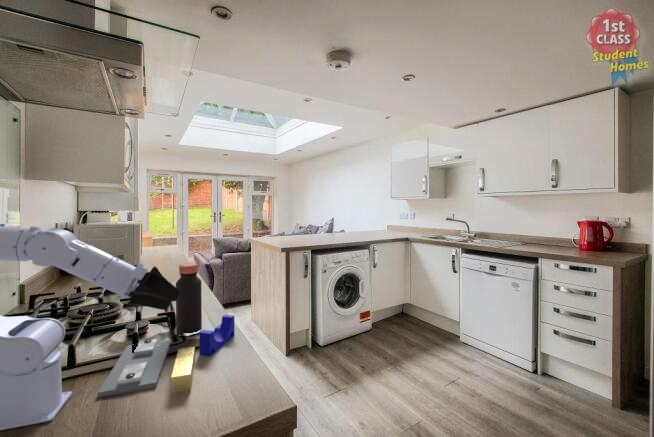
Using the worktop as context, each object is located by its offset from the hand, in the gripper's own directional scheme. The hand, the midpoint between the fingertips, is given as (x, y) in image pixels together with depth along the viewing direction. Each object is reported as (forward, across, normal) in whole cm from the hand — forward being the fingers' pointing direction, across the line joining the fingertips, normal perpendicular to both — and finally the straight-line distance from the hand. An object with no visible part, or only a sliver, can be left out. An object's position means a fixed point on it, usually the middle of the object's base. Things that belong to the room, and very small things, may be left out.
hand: (172, 301), depth 61 cm
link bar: (+11, +9, +11) cm, 18 cm away
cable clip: (+17, +18, 0) cm, 25 cm away
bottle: (+11, +29, -3) cm, 31 cm away
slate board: (+3, +19, +10) cm, 22 cm away
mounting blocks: (+3, +19, +10) cm, 22 cm away
